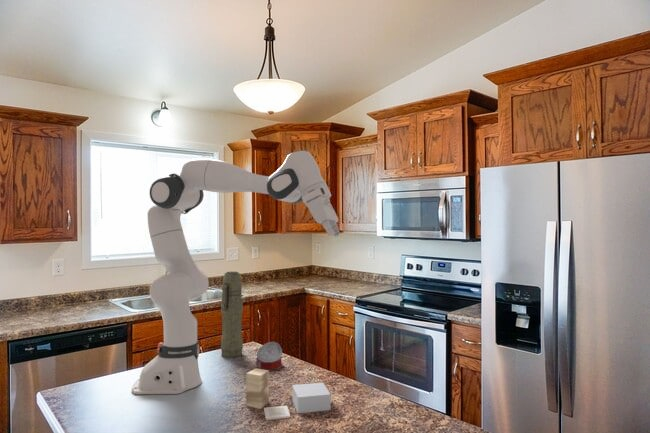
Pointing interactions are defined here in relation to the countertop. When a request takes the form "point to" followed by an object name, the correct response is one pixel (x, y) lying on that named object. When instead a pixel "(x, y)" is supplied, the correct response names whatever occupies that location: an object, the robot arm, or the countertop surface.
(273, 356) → the canned food
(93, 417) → the countertop surface
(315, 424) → the countertop surface
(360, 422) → the countertop surface
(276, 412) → the picture tile
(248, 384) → the maple block
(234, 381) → the countertop surface
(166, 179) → the robot arm
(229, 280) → the thermos
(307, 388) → the grey-blue block
